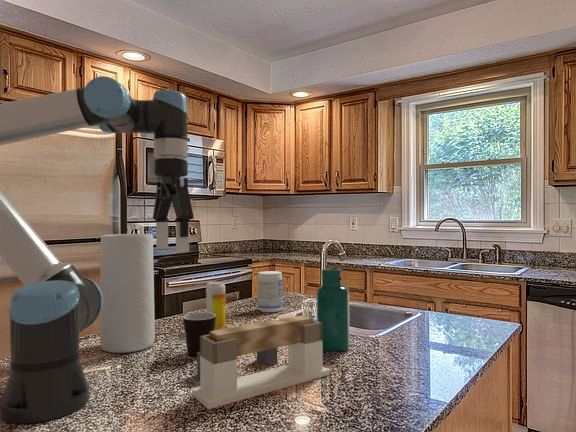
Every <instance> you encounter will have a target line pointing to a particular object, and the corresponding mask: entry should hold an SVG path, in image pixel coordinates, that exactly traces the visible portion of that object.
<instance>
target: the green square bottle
mask: <svg viewBox="0 0 576 432" xmlns="http://www.w3.org/2000/svg"><path fill="white" fill-rule="evenodd" d="M341 272H343V269H342V268H339V267H327V268H324V269H322V270H321V285H320V286H319V287H318V288H317V290H316V316H317V317H316V321H318V322H321V323H322V342H323V351H328V352H331V351H332V352H346V351H348V350H349V347H350V335H351V334H350V289H349V286H348V285H346V284H344V283H341Z"/></svg>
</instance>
